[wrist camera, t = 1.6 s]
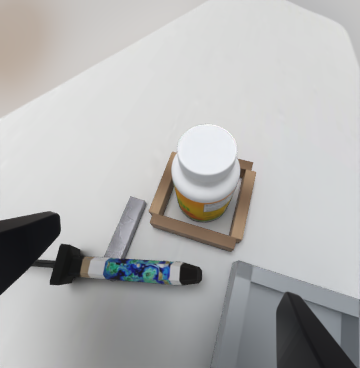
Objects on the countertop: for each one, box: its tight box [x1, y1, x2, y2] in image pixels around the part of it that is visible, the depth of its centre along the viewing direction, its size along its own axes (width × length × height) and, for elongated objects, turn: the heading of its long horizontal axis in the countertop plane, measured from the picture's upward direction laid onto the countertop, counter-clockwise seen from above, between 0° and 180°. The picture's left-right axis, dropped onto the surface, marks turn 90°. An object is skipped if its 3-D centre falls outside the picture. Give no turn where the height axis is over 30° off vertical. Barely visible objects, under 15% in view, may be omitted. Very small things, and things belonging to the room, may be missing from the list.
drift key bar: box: [104, 196, 146, 281], centre depth 21 cm, size 8×2×1 cm, turn 162°
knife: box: [32, 244, 202, 286], centre depth 19 cm, size 31×3×4 cm, turn 83°
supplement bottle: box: [171, 124, 240, 222], centre depth 18 cm, size 5×5×10 cm
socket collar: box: [149, 152, 256, 252], centre depth 22 cm, size 9×9×2 cm
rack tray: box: [210, 261, 360, 368], centre depth 16 cm, size 10×10×3 cm
